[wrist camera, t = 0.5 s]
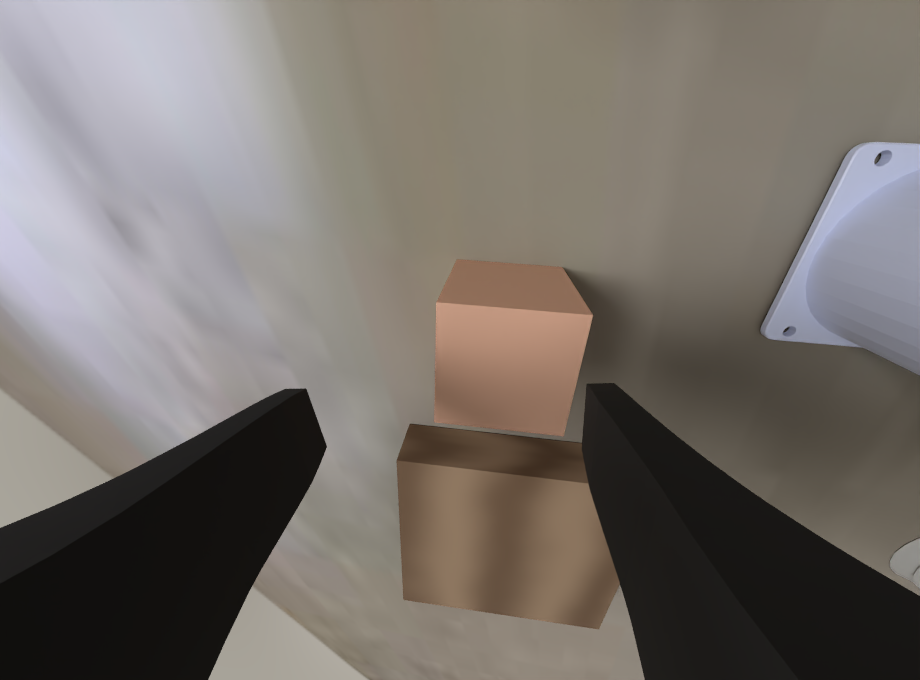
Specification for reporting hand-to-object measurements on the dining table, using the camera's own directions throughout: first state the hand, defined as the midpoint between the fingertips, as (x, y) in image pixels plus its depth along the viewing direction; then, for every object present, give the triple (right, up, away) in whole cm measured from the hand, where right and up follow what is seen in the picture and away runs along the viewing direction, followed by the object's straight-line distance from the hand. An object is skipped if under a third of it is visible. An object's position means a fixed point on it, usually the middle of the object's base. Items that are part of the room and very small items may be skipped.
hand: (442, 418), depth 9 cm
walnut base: (+4, -10, +15) cm, 19 cm away
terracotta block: (+3, +3, +9) cm, 10 cm away
